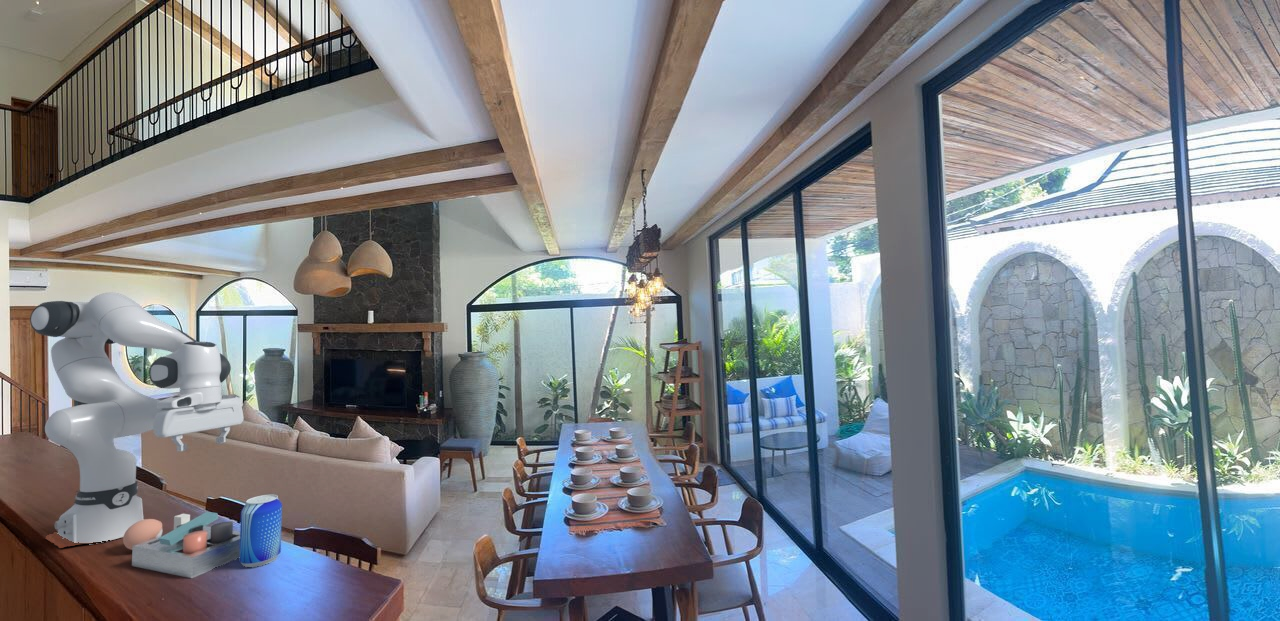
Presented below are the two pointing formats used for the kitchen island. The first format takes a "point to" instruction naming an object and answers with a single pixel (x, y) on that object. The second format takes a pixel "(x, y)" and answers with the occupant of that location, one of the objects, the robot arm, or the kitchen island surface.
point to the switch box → (185, 555)
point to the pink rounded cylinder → (194, 542)
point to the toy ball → (142, 532)
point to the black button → (221, 532)
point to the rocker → (187, 528)
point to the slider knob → (181, 519)
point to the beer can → (260, 530)
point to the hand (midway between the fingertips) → (202, 447)
